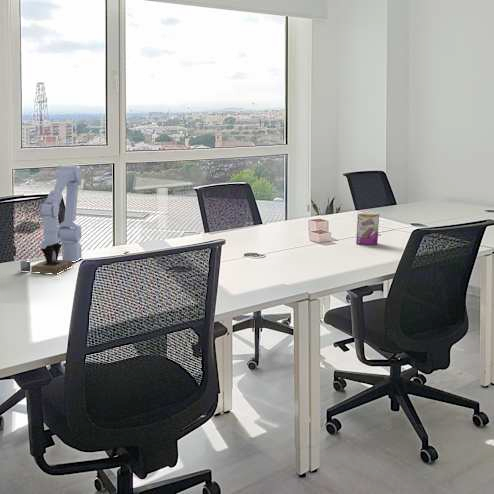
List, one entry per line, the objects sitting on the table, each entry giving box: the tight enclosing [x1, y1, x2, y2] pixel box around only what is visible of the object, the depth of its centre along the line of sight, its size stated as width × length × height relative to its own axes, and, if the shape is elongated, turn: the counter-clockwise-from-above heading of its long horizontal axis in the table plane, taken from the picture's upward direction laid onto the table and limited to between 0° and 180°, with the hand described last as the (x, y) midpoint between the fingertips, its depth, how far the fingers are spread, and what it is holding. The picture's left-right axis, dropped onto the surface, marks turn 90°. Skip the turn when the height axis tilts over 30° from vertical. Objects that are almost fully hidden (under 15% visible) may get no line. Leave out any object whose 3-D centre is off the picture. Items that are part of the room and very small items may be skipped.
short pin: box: [20, 259, 31, 272], centre depth 296 cm, size 4×4×4 cm
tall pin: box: [47, 250, 56, 266], centre depth 298 cm, size 4×4×8 cm
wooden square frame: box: [30, 259, 74, 274], centre depth 299 cm, size 14×12×3 cm
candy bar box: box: [355, 211, 380, 246], centre depth 359 cm, size 11×5×16 cm, turn 84°
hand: (52, 261), depth 298 cm, fingers closed on tall pin, 4 cm apart
